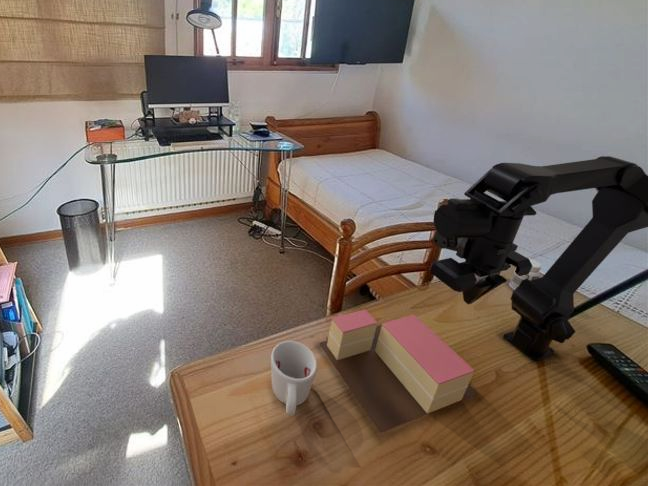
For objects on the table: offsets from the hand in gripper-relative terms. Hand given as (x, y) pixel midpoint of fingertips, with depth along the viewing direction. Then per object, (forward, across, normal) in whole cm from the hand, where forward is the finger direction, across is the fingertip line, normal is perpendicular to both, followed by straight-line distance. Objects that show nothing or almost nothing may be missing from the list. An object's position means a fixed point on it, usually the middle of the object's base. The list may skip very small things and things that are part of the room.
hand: (467, 302), depth 66 cm
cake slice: (+12, +21, -6) cm, 25 cm away
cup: (+13, +37, -1) cm, 39 cm away
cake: (+12, +12, +2) cm, 17 cm away
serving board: (+13, +15, 0) cm, 20 cm away
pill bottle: (+13, -36, -9) cm, 39 cm away
